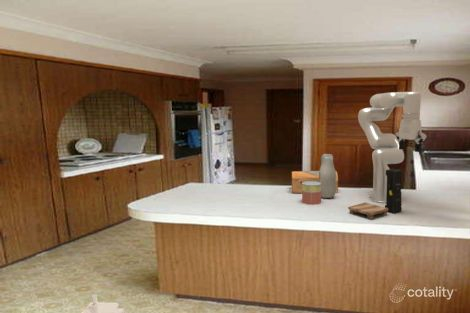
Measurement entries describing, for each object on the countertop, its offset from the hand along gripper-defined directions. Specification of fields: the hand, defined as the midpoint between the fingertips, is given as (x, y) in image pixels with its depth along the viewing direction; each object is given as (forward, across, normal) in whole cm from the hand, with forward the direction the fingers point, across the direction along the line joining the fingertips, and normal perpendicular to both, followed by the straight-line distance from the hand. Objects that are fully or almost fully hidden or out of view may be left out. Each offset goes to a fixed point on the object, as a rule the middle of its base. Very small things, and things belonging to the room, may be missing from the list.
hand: (409, 150), depth 170 cm
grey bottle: (+34, -43, -17) cm, 58 cm away
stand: (+33, -7, -19) cm, 39 cm away
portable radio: (+34, -4, -5) cm, 34 cm away
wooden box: (+35, -63, -13) cm, 73 cm away
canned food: (+34, -39, -32) cm, 61 cm away
